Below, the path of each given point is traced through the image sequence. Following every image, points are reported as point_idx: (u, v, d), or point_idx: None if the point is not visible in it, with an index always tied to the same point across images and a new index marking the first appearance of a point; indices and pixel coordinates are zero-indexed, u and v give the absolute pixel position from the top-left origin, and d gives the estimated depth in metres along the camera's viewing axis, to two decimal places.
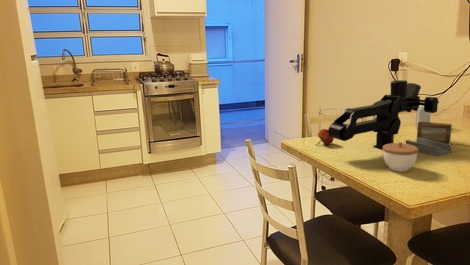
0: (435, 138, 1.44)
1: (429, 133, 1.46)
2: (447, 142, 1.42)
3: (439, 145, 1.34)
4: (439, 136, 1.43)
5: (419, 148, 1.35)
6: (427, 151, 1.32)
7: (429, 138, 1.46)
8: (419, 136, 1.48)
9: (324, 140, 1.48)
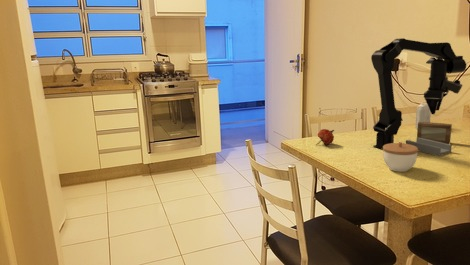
0: (435, 138, 1.44)
1: (429, 133, 1.46)
2: (447, 142, 1.42)
3: (439, 145, 1.34)
4: (439, 136, 1.43)
5: (419, 148, 1.35)
6: (427, 151, 1.32)
7: (429, 138, 1.46)
8: (419, 136, 1.48)
9: (324, 140, 1.48)
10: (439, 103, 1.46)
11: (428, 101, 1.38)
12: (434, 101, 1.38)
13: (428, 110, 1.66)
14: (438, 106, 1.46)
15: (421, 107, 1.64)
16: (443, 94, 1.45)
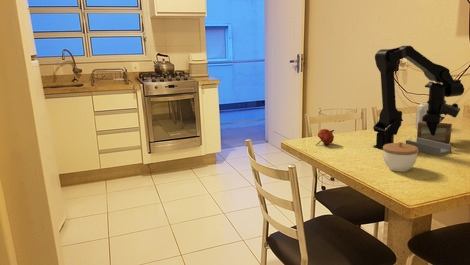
0: (435, 138, 1.44)
1: (429, 133, 1.45)
2: (447, 142, 1.42)
3: (439, 145, 1.34)
4: (439, 135, 1.43)
5: (419, 148, 1.35)
6: (427, 151, 1.32)
7: (429, 138, 1.46)
8: (419, 136, 1.48)
9: (324, 140, 1.48)
10: None
11: (428, 123, 1.43)
12: (434, 123, 1.42)
13: None
14: None
15: (421, 107, 1.64)
16: None
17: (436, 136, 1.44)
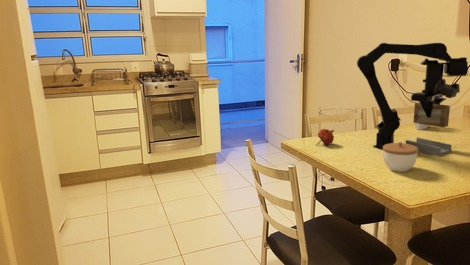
0: (431, 120, 1.34)
1: (425, 114, 1.35)
2: (442, 125, 1.30)
3: (439, 145, 1.34)
4: (435, 118, 1.32)
5: (419, 148, 1.35)
6: (427, 151, 1.32)
7: (425, 120, 1.36)
8: (416, 117, 1.39)
9: (324, 140, 1.48)
10: None
11: (422, 103, 1.33)
12: (428, 104, 1.32)
13: None
14: None
15: None
16: (439, 99, 1.33)
17: (432, 118, 1.33)
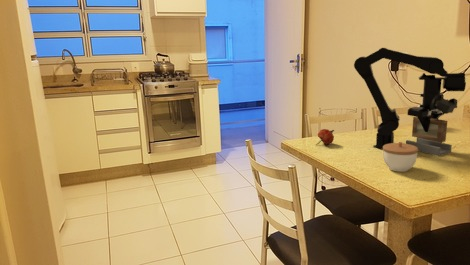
0: (428, 135, 1.33)
1: (423, 129, 1.35)
2: (439, 140, 1.30)
3: (439, 145, 1.34)
4: (432, 132, 1.32)
5: (419, 148, 1.35)
6: (427, 151, 1.32)
7: (423, 134, 1.35)
8: (414, 131, 1.38)
9: (324, 140, 1.48)
10: None
11: (420, 118, 1.33)
12: (425, 118, 1.32)
13: None
14: None
15: (421, 107, 1.64)
16: (437, 114, 1.32)
17: (429, 133, 1.33)
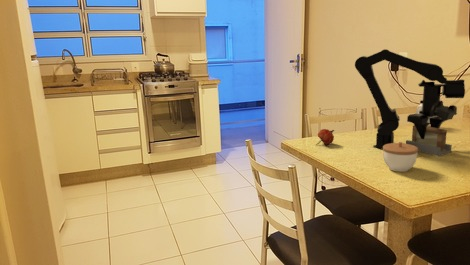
0: (428, 143, 1.34)
1: None
2: None
3: None
4: (432, 141, 1.32)
5: (419, 148, 1.35)
6: (427, 151, 1.32)
7: (422, 143, 1.36)
8: (414, 140, 1.39)
9: (324, 140, 1.48)
10: None
11: (416, 125, 1.33)
12: (422, 125, 1.32)
13: None
14: None
15: (421, 107, 1.64)
16: (440, 120, 1.33)
17: (429, 142, 1.34)
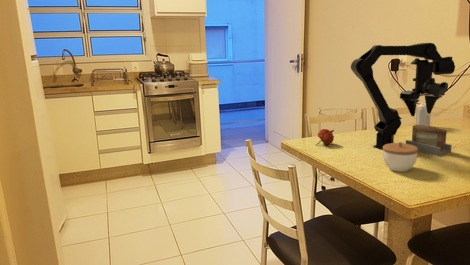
0: (428, 143, 1.34)
1: (423, 137, 1.36)
2: None
3: None
4: (432, 141, 1.32)
5: (419, 148, 1.35)
6: (427, 151, 1.32)
7: (422, 143, 1.36)
8: (414, 140, 1.39)
9: (324, 140, 1.48)
10: (430, 106, 1.40)
11: (406, 102, 1.37)
12: (412, 103, 1.35)
13: None
14: (429, 109, 1.40)
15: (421, 107, 1.64)
16: (435, 97, 1.38)
17: (429, 142, 1.34)
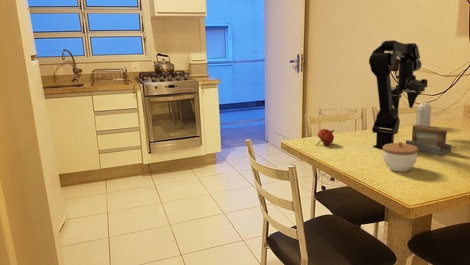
0: (428, 143, 1.34)
1: (423, 137, 1.36)
2: None
3: None
4: (432, 141, 1.32)
5: (419, 148, 1.35)
6: (427, 151, 1.32)
7: (422, 143, 1.36)
8: (414, 140, 1.39)
9: (324, 140, 1.48)
10: (412, 101, 1.53)
11: None
12: (395, 98, 1.48)
13: (428, 110, 1.66)
14: (411, 104, 1.53)
15: (421, 107, 1.64)
16: (416, 92, 1.51)
17: (429, 142, 1.34)
